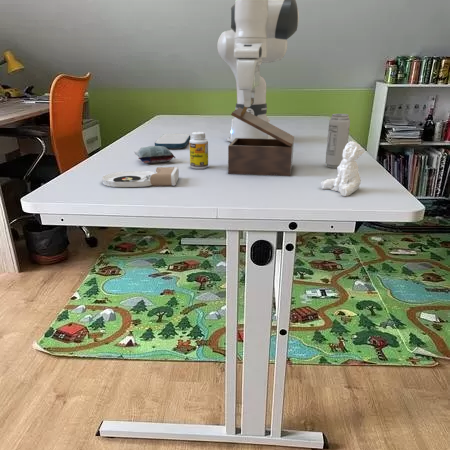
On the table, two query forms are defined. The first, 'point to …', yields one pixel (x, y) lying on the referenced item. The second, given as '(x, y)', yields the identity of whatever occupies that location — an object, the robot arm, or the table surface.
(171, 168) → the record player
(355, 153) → the white creature statuette
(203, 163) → the supplement bottle
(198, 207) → the table surface
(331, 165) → the energy drink can
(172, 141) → the external hard drive
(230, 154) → the chest
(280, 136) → the chest lid
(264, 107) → the robot arm
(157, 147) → the packaged food
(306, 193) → the table surface
